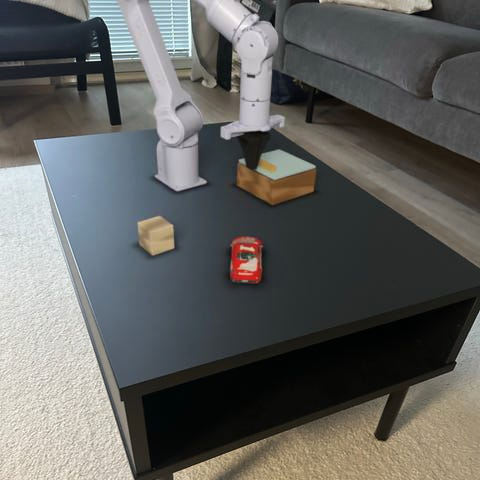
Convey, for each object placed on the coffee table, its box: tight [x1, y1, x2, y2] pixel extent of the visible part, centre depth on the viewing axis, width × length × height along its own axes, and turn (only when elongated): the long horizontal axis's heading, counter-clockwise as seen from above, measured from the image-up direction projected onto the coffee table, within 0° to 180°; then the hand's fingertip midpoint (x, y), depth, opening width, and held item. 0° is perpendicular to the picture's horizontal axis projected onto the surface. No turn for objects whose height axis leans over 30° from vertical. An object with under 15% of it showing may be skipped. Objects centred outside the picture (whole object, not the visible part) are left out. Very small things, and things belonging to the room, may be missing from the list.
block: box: [137, 215, 175, 256], centre depth 87 cm, size 4×4×4 cm
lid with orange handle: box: [238, 148, 316, 180], centre depth 106 cm, size 12×12×2 cm
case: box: [236, 162, 317, 206], centre depth 108 cm, size 12×12×5 cm
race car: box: [229, 235, 264, 285], centre depth 84 cm, size 13×5×4 cm, turn 177°
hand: (251, 167), depth 102 cm, fingers closed
